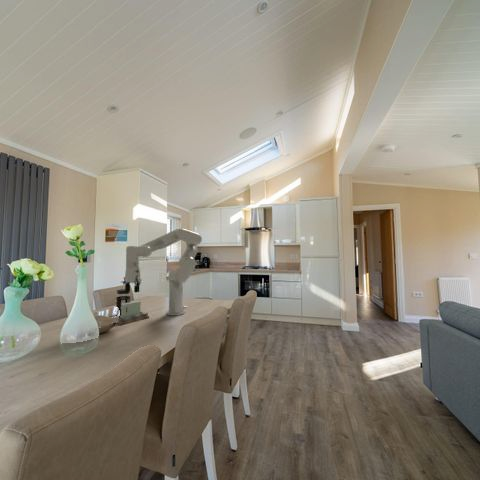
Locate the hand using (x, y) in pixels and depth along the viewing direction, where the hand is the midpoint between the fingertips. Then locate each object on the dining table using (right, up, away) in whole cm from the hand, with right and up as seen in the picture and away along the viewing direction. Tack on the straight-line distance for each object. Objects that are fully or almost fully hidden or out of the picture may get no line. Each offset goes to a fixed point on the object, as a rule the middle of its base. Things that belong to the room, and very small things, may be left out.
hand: (132, 291), depth 158 cm
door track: (-1, -18, -1) cm, 18 cm away
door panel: (-1, -17, -1) cm, 17 cm away
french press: (-12, -19, +12) cm, 26 cm away
